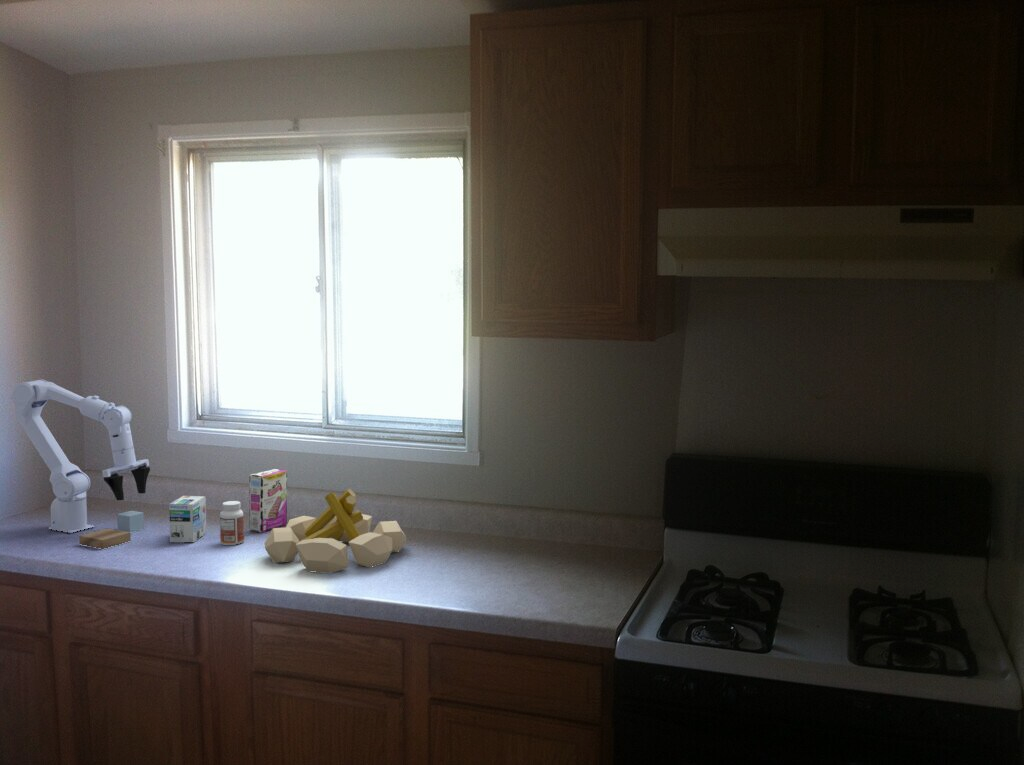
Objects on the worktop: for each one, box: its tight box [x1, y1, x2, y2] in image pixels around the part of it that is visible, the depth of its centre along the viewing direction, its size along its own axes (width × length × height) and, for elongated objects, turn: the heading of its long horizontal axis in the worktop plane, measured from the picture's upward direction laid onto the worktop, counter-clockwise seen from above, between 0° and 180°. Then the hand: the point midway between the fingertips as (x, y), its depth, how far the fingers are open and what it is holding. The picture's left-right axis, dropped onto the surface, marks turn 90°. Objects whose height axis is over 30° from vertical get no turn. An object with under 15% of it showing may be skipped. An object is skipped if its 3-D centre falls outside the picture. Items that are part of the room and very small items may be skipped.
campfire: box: [264, 488, 407, 573], centre depth 245 cm, size 35×34×17 cm
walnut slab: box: [78, 528, 132, 550], centre depth 253 cm, size 9×9×3 cm
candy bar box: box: [248, 468, 288, 534], centre depth 271 cm, size 11×5×16 cm, turn 154°
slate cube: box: [116, 510, 145, 533], centre depth 267 cm, size 5×5×5 cm
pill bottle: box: [219, 500, 245, 546], centre depth 255 cm, size 6×6×11 cm
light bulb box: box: [168, 495, 207, 543], centre depth 259 cm, size 11×7×11 cm, turn 179°
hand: (131, 496), depth 265 cm, fingers open, 7 cm apart
